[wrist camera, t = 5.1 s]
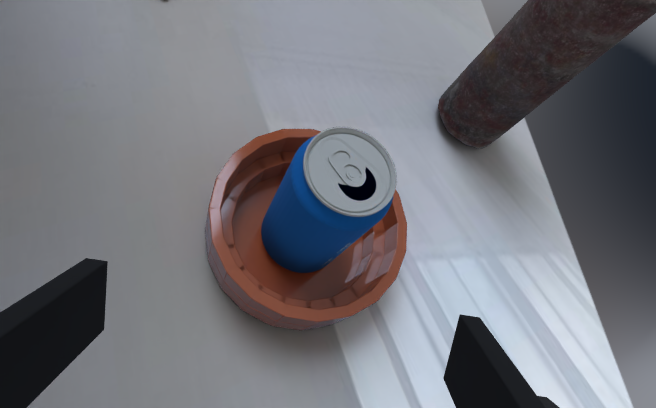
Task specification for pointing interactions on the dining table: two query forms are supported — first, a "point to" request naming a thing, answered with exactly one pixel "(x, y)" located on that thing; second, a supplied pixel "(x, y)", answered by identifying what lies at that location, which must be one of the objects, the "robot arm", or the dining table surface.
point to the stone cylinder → (534, 62)
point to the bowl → (269, 277)
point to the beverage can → (328, 199)
